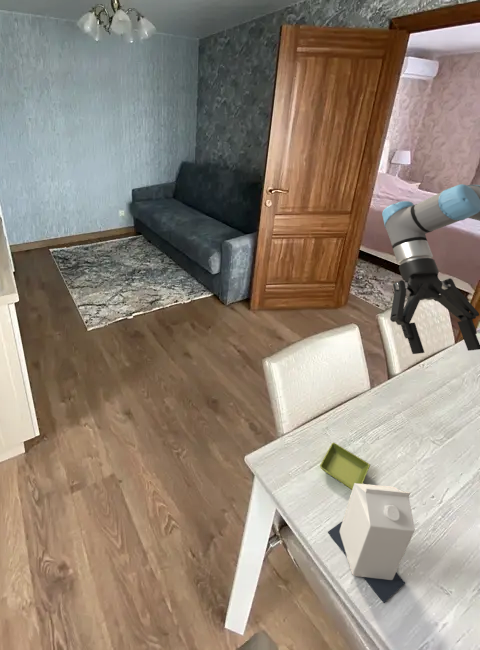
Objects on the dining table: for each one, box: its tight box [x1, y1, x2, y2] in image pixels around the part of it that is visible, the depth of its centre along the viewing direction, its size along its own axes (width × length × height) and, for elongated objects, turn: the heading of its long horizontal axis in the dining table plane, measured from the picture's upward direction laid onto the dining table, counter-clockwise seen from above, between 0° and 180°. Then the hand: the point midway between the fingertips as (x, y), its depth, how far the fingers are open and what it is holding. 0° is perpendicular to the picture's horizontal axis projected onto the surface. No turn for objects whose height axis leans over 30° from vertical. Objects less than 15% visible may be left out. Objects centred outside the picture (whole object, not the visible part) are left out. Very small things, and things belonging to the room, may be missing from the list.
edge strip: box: [327, 521, 406, 604], centre depth 66 cm, size 12×6×1 cm, turn 27°
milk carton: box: [339, 483, 416, 580], centre depth 62 cm, size 7×7×19 cm
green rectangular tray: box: [319, 442, 371, 490], centre depth 81 cm, size 9×9×2 cm
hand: (446, 351), depth 76 cm, fingers open, 13 cm apart
